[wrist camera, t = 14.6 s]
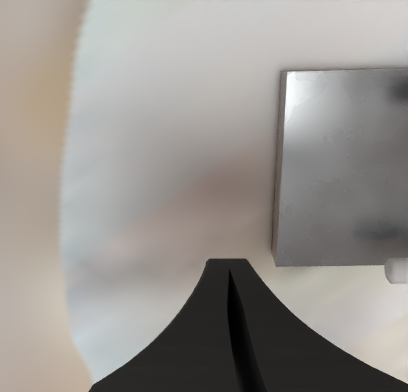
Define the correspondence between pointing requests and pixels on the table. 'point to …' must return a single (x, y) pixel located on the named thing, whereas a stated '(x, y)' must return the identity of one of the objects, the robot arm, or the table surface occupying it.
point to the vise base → (341, 168)
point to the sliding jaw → (397, 270)
